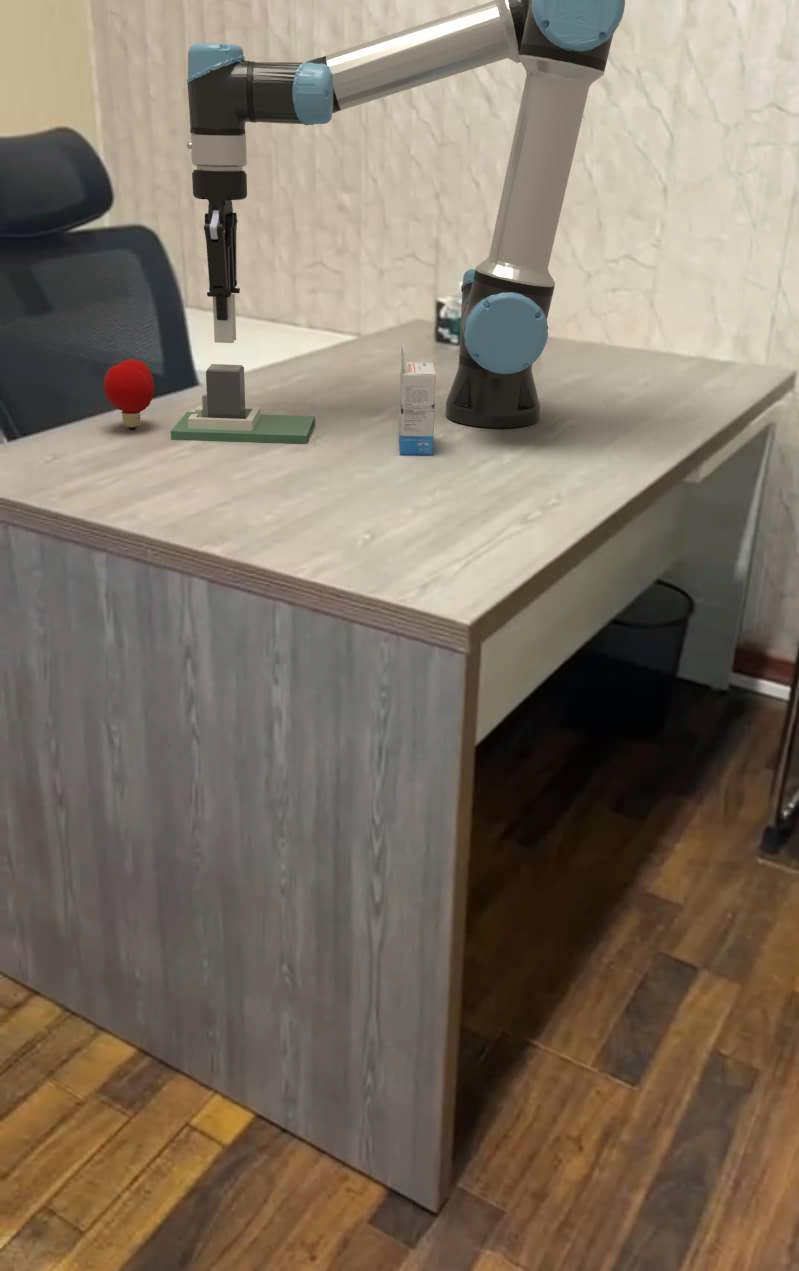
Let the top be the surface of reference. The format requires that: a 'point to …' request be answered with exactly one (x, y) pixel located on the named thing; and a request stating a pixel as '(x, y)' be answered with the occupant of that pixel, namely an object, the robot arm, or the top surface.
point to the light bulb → (129, 390)
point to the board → (245, 427)
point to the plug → (224, 392)
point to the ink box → (416, 407)
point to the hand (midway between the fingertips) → (225, 340)
